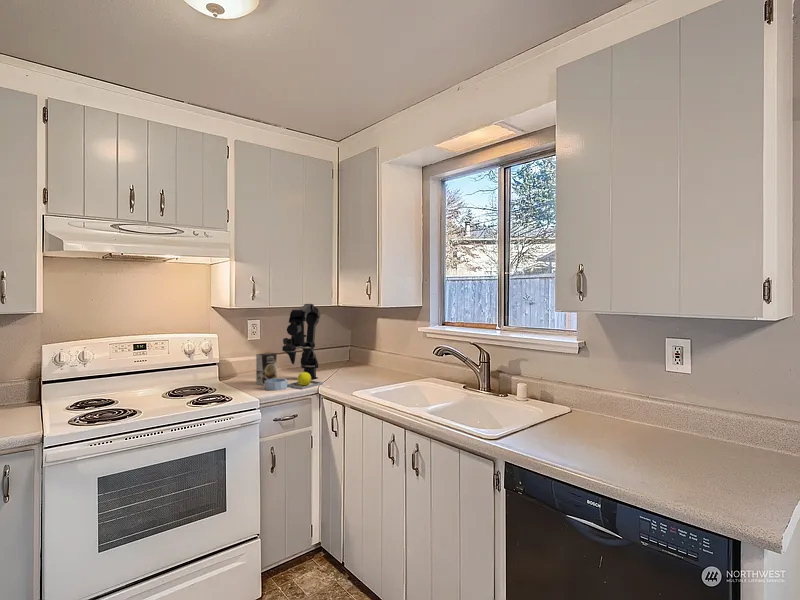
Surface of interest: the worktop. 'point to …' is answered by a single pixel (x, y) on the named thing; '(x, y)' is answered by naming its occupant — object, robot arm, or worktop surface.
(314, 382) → the grey square frame
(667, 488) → the worktop surface
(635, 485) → the worktop surface
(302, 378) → the tennis ball
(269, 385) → the bowl
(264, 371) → the coffee box
